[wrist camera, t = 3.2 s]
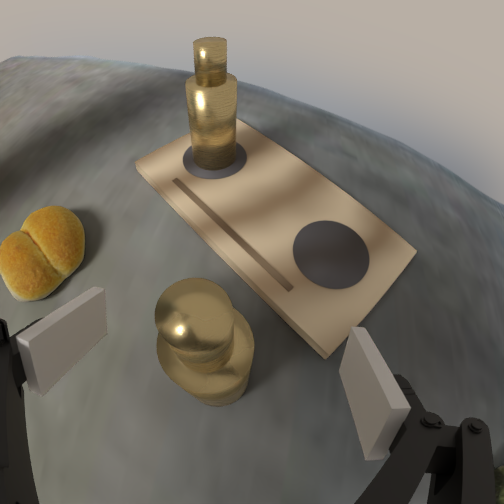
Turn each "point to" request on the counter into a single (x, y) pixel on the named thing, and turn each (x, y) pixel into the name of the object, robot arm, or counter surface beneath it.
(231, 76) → the gold bottle
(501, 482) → the vegetable
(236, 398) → the brass bottle
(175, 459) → the counter surface
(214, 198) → the board
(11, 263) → the bread roll
